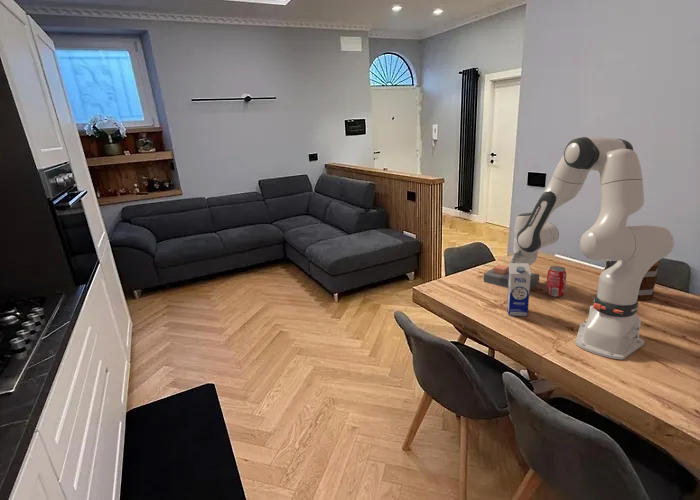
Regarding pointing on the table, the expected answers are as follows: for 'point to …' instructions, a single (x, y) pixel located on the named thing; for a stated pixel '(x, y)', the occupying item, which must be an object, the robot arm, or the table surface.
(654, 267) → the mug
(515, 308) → the milk carton
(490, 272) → the console
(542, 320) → the table surface
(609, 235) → the robot arm
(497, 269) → the brick key
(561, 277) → the soda can
